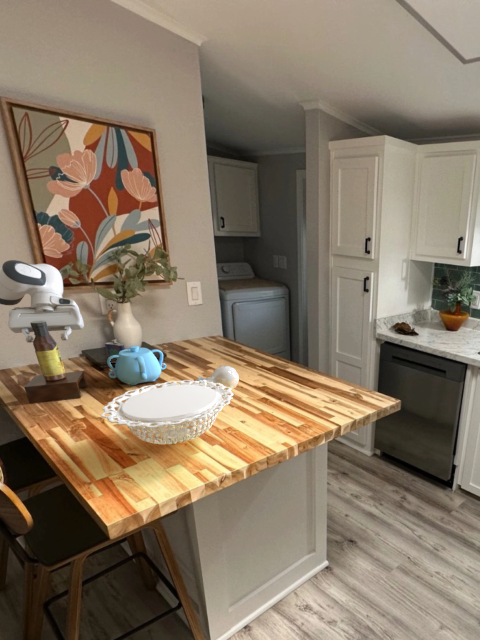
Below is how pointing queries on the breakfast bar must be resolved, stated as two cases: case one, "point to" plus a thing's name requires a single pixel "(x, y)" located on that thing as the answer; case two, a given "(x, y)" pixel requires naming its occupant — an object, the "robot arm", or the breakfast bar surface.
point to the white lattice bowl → (169, 410)
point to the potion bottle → (223, 377)
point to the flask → (114, 348)
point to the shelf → (55, 388)
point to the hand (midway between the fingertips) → (47, 340)
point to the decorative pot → (136, 365)
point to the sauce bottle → (47, 352)
